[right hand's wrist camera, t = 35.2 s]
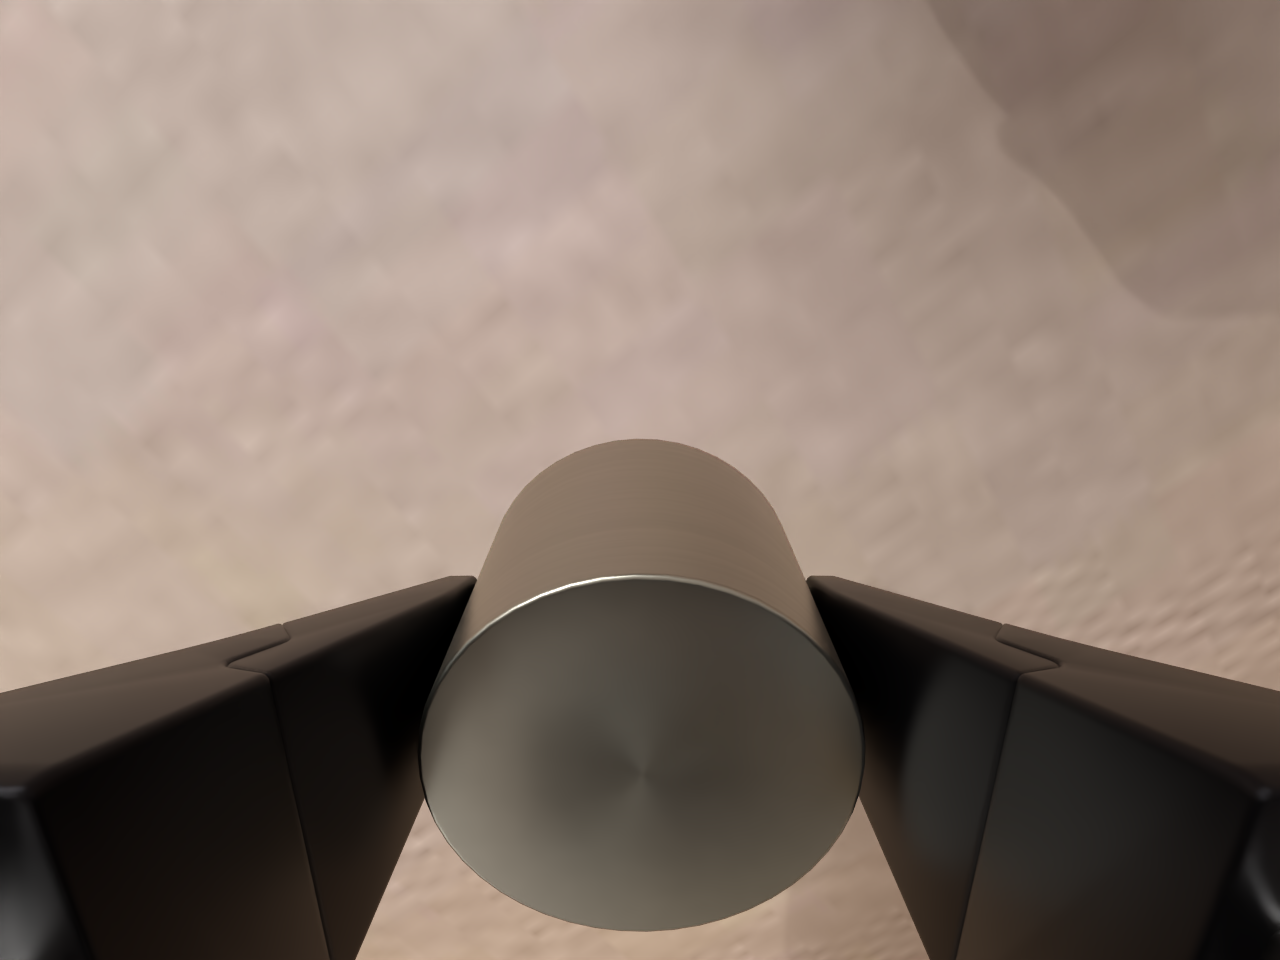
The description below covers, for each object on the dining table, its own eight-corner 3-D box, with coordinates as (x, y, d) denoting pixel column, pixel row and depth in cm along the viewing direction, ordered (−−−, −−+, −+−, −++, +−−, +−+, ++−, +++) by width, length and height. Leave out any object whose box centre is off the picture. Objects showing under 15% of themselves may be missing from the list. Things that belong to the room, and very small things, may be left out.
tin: (802, 683, 13) (877, 908, 9) (526, 720, 13) (476, 955, 9) (776, 414, 11) (853, 541, 7) (458, 464, 12) (358, 613, 8)
